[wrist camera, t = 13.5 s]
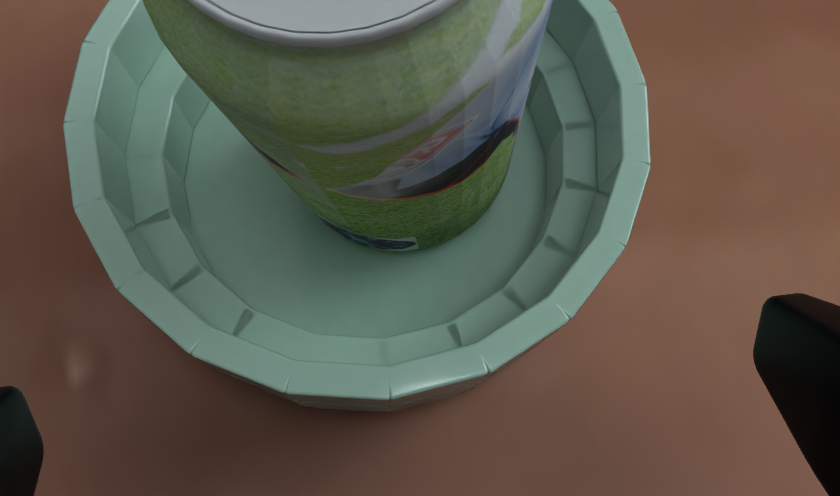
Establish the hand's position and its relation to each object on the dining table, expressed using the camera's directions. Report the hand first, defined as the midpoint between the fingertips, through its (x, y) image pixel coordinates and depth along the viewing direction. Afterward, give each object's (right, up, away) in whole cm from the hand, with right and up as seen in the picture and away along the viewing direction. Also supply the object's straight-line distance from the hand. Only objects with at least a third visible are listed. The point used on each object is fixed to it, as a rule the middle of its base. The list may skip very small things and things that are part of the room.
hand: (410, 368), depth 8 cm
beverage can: (-1, +3, +11) cm, 12 cm away
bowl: (-1, +3, +12) cm, 12 cm away
